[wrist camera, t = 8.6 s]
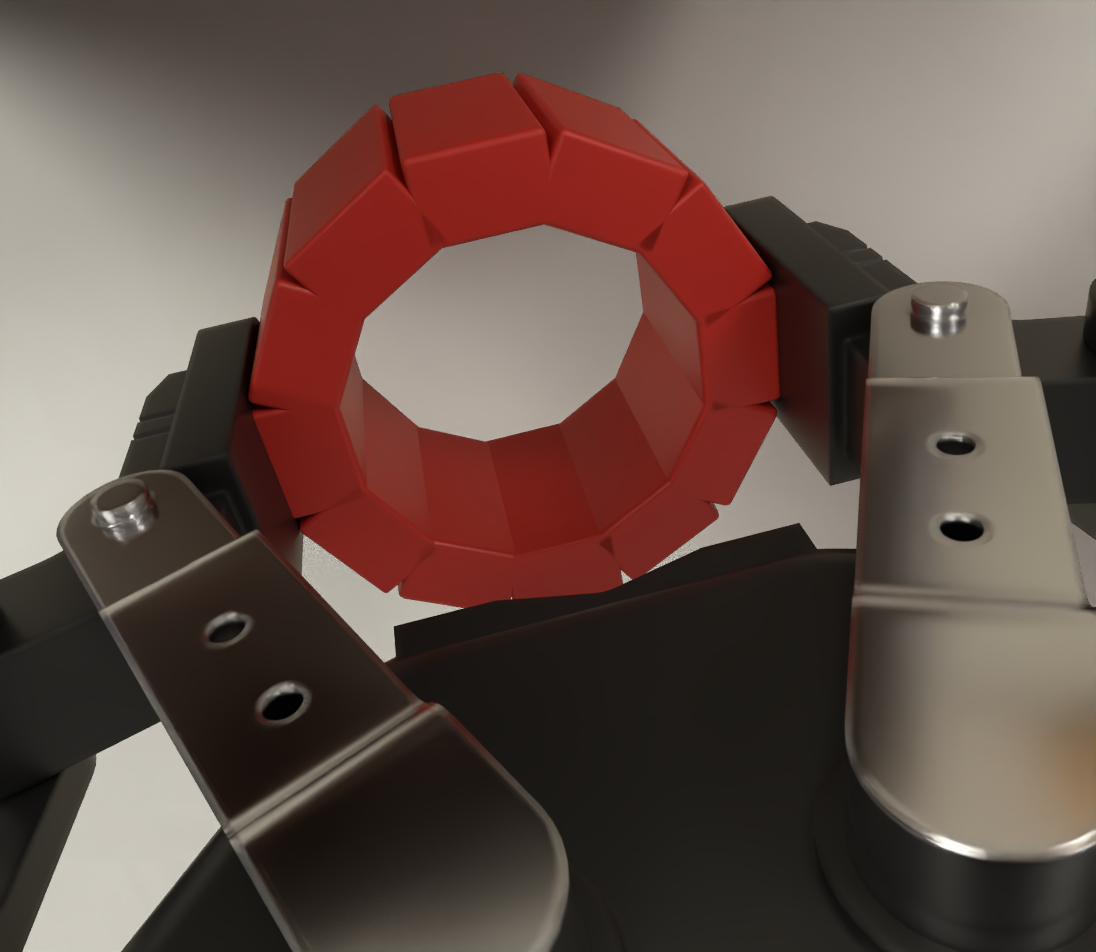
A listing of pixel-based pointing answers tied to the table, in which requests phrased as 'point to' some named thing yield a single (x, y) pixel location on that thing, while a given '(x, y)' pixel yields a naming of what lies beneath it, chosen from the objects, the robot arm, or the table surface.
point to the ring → (538, 455)
